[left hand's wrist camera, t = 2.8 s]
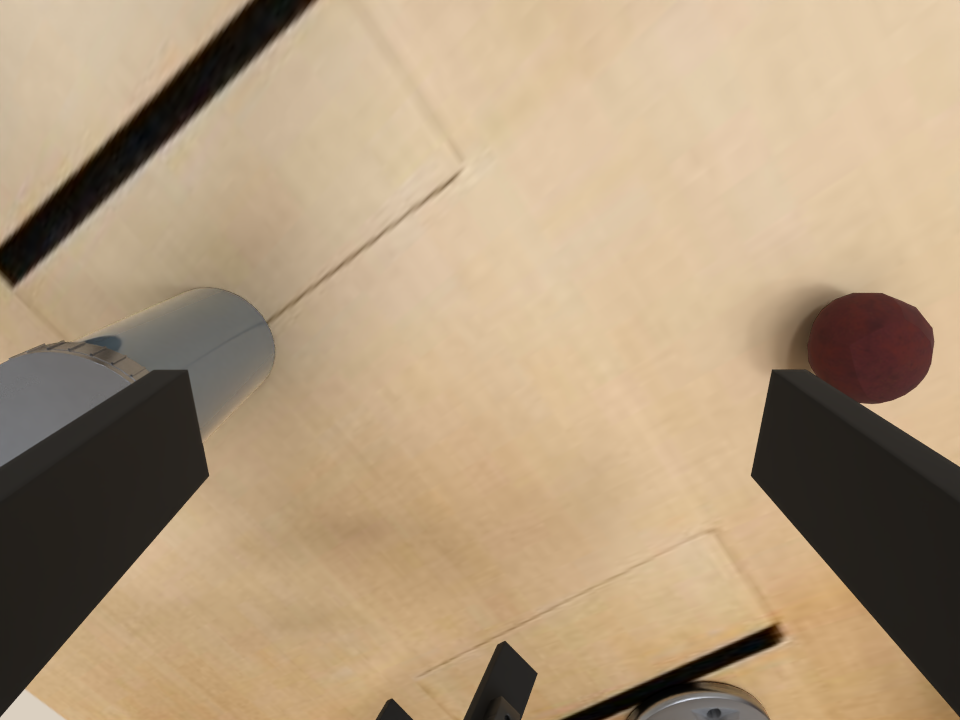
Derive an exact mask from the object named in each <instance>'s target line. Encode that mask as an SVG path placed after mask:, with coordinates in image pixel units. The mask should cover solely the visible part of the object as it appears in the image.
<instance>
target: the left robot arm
mask: <svg viewBox="0 0 960 720" xmlns="http://www.w3.org/2000/svg"><path fill="white" fill-rule="evenodd" d="M208 477H209V473H208V468H207V463H206V458H205V453H204V448H203V443H202V438H201V433H200V428H199V423H198V418H197V413H196V408H195V403H194V398H193V393H192V388H191V383H190V378H189V373H188V370H152V371H151V372H149V373H148V374H146V375H145V376H143V377H141V378H140V379H138V380H137V381H135V382H134V383H132V384H130V385H129V386H127V387H126V388H124V389H122V390H121V391H119V392H118V393H116V394H115V395H113V396H111V397H110V398H108V399H107V400H105V401H104V402H102V403H100V404H99V405H97V406H96V407H94V408H92V409H91V410H89V411H88V412H86V413H85V414H83V415H81V416H80V417H78V418H77V419H75V420H74V421H72V422H70V423H69V424H67V425H66V426H64V427H62V428H61V429H59V430H58V431H56V432H55V433H53V434H51V435H50V436H48V437H47V438H45V439H44V440H42V441H40V442H39V443H37V444H36V445H34V446H32V447H31V448H29V449H28V450H26V451H25V452H23V453H21V454H20V455H18V456H17V457H15V458H14V459H12V460H10V461H9V462H7V463H6V464H4V465H3V466H1V467H0V717H1V716H2V714H3V713H4V712H5V711H6V710H7V709H8V707H9V706H10V705H11V704H12V703H13V702H14V701H15V699H16V698H17V697H18V696H19V695H20V694H21V692H22V691H23V690H24V689H25V688H26V687H27V686H28V684H29V683H30V682H31V681H32V680H33V679H34V677H35V676H36V675H37V674H38V673H39V672H40V671H41V669H42V668H43V667H44V666H45V665H46V664H47V662H48V661H49V660H50V659H51V658H52V657H53V656H54V654H55V653H56V652H57V651H58V650H59V649H60V647H61V646H62V645H63V644H64V643H65V642H66V641H67V639H68V638H69V637H70V636H71V635H72V634H73V632H74V631H75V630H76V629H77V628H78V627H79V626H80V624H81V623H82V622H83V621H84V620H85V619H86V617H87V616H88V615H89V614H90V613H91V612H92V610H93V609H94V608H95V607H96V606H97V605H98V604H99V602H100V601H101V600H102V599H103V598H104V597H105V595H106V594H107V593H108V592H109V591H110V590H111V589H112V587H113V586H114V585H115V584H116V583H117V582H118V580H119V579H120V578H121V577H122V576H123V575H124V574H125V572H126V571H127V570H128V569H129V568H130V567H131V565H132V564H133V563H134V562H135V561H136V560H137V559H138V557H139V556H140V555H141V554H142V553H143V552H144V550H145V549H146V548H147V547H148V546H149V545H150V544H151V542H152V541H153V540H154V539H155V538H156V537H157V535H158V534H159V533H160V532H161V531H162V530H163V528H164V527H165V526H166V525H167V524H168V523H169V522H170V520H171V519H172V518H173V517H174V516H175V515H176V513H177V512H178V511H179V510H180V509H181V508H182V507H183V505H184V504H185V503H186V502H187V501H188V500H189V498H190V497H191V496H192V495H193V494H194V493H195V492H196V490H197V489H198V488H199V487H200V486H201V485H202V483H203V482H204V481H205V480H206V479H207V478H208ZM751 477H752V478H753V479H754V480H755V481H756V482H757V483H758V485H759V486H760V487H761V488H762V489H763V490H764V492H765V493H766V494H767V495H768V496H769V497H770V498H771V500H772V501H773V502H774V503H775V504H776V505H777V507H778V508H779V509H780V510H781V511H782V512H783V513H784V515H785V516H786V517H787V518H788V519H789V520H790V522H791V523H792V524H793V525H794V526H795V527H796V529H797V530H798V531H799V532H800V533H801V534H802V535H803V537H804V538H805V539H806V540H807V541H808V542H809V544H810V545H811V546H812V547H813V548H814V549H815V550H816V552H817V553H818V554H819V555H820V556H821V557H822V559H823V560H824V561H825V562H826V563H827V564H828V565H829V567H830V568H831V569H832V570H833V571H834V572H835V574H836V575H837V576H838V577H839V578H840V579H841V580H842V582H843V583H844V584H845V585H846V586H847V587H848V589H849V590H850V591H851V592H852V593H853V594H854V595H855V597H856V598H857V599H858V600H859V601H860V602H861V604H862V605H863V606H864V607H865V608H866V609H867V611H868V612H869V613H870V614H871V615H872V616H873V617H874V619H875V620H876V621H877V622H878V623H879V624H880V626H881V627H882V628H883V629H884V630H885V631H886V632H887V634H888V635H889V636H890V637H891V638H892V639H893V641H894V642H895V643H896V644H897V645H898V646H899V647H900V649H901V650H902V651H903V652H904V653H905V654H906V656H907V657H908V658H909V659H910V660H911V661H912V662H913V664H914V665H915V666H916V667H917V668H918V669H919V671H920V672H921V673H922V674H923V675H924V676H925V677H926V679H927V680H928V681H929V682H930V683H931V684H932V686H933V687H934V688H935V689H936V690H937V691H938V693H939V694H940V695H941V696H942V697H943V698H944V699H945V701H946V702H947V703H948V704H949V705H950V706H951V708H952V709H953V710H954V711H955V712H956V713H957V714H958V716H959V717H960V467H959V466H957V465H956V464H954V463H953V462H951V461H950V460H948V459H946V458H945V457H943V456H942V455H940V454H939V453H937V452H935V451H934V450H932V449H931V448H929V447H928V446H926V445H924V444H923V443H921V442H920V441H918V440H916V439H915V438H913V437H912V436H910V435H909V434H907V433H905V432H904V431H902V430H901V429H899V428H898V427H896V426H894V425H893V424H891V423H890V422H888V421H886V420H885V419H883V418H882V417H880V416H879V415H877V414H875V413H874V412H872V411H871V410H869V409H868V408H866V407H864V406H863V405H861V404H860V403H858V402H856V401H855V400H853V399H852V398H850V397H849V396H847V395H845V394H844V393H842V392H841V391H839V390H838V389H836V388H834V387H833V386H831V385H830V384H828V383H826V382H825V381H823V380H822V379H820V378H819V377H817V376H815V375H814V374H812V373H811V372H809V371H808V370H772V373H771V378H770V383H769V388H768V393H767V398H766V403H765V408H764V413H763V418H762V423H761V428H760V433H759V438H758V443H757V448H756V453H755V458H754V463H753V468H752V473H751Z"/></svg>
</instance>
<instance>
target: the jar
mask: <svg viewBox="0 0 960 720" xmlns="http://www.w3.org/2000/svg"><path fill="white" fill-rule="evenodd" d="M83 341H84V342H85V343H88V344H93V345H98V346H101V347H104V346H106V348H108V349H111V350H113V351H116V352H118V353H120V354H123V355H127V357H128V358H130V359H132V360H134V361H135V362H137V363H138V364H140V365H141V366H142V367H146V368H145V369H147V370H148V371H149V372H151V371H152V370H188V373H189V378H190V383H191V388H192V393H193V398H194V403H195V408H196V413H197V418H198V423H199V428H200V433H201V438H202V443H204V442H205V441H206V440H207V439H208V438H209V437H210V436H211V435H212V434H213V433H214V432H215V431H216V430H217V429H218V428H219V427H220V426H221V425H222V424H223V423H224V421H225V420H226V419H227V418H228V417H229V416H230V415H231V414H232V413H233V412H234V411H235V410H236V409H237V408H238V407H239V406H240V405H241V404H242V403H243V402H244V401H245V400H246V399H247V398H248V397H249V396H250V395H251V394H252V393H253V392H254V391H255V390H256V389H257V388H258V387H259V386H260V385H261V384H262V383H263V382H264V381H265V379H266V378H267V377H268V375H269V373H270V371H271V369H272V366H273V362H274V356H275V346H274V340H273V336H272V333H271V331H270V328H269V326H268V324H267V323H266V321H265V319H264V318H263V317H262V315H261V314H260V313H259V312H258V311H257V310H256V309H255V308H254V307H253V306H252V305H251V304H250V303H249V302H247V301H246V300H244V299H243V298H241V297H239V296H238V295H235V294H233V293H231V292H228V291H225V290H221V289H217V288H197V289H192V290H189V291H186V292H183V293H181V294H179V295H176V296H174V297H172V298H170V299H167V300H165V301H163V302H160V303H158V304H156V305H154V306H151V307H149V308H147V309H144V310H142V311H140V312H138V313H135V314H133V315H131V316H128V317H126V318H124V319H121V320H119V321H117V322H115V323H112V324H110V325H108V326H105V327H103V328H101V329H99V330H96V331H94V332H92V333H89V334H87V335H85V336H83V337H80V338H78V339H76V340H73V341H71V342H79V343H81V342H83Z"/></svg>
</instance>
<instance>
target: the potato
mask: <svg viewBox="0 0 960 720" xmlns="http://www.w3.org/2000/svg"><path fill="white" fill-rule="evenodd" d="M933 347H934V336H933V329H932V327H931V326H930V324H929V323H928V322H927V321H926V319H925V318H924V317H923V316H922V314H921V313H920V312H919V311H918V309H917V308H916V307H914V306H912V305H909V304H907V303H905V302H903V301H900V300H898V299H895V298H893V297H890V296H888V295H885V294H883V293H852V294H849V295H846V296H843V297H841V298H838V299H835V300H834V301H832V302H831V303H830V304H828V305H827V306H826V307H825V308H824V309H822V310H821V312H820V313H819V315H818V316H817V318H816V319H815V321H814V323H813V326H812V330H811V333H810V337H809V341H808V357H809V363H810V365H811V367H812V369H813V371H814V372H815V374H816V376H817V377H819V378H820V379H822V380H823V381H825V382H826V383H828V384H830V385H831V386H833V387H834V388H836V389H838V390H839V391H841V392H842V393H844V394H845V395H847V396H849V397H850V398H852V399H853V400H855V401H856V402H858V403H867V404H877V403H883V402H887V401H892V400H894V399H897V398H899V397H901V396H903V395H906V394H907V393H908V392H910V391H911V390H913V389H914V388H915V387H917V385H918V384H919V383H920V382H921V381H922V380H923V379H924V377H925V376H926V374H927V373H928V370H929V368H930V365H931V361H932V353H933Z"/></svg>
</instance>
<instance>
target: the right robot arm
mask: <svg viewBox="0 0 960 720" xmlns="http://www.w3.org/2000/svg"><path fill="white" fill-rule="evenodd" d="M537 674H538V673H537V672H536V671H535V670H534V669H533V668H532V667H531V666H530V665H529V664H528V663H527V662H526V661H525V660H524V659H523V658H522V657H521V656H520V655H519V654H518V653H517V652H516V651H515V650H514V649H513V648H512V647H511V646H510V645H509V644H508V643H507V642H506V641H504V642H502V643H500V644H498V645H497V647H496V649H495V651H494V654H493V656H492V658H491V660H490V662H489V665H488V667H487V669H486V671H485V673H484V676H483V678H482V680H481V682H480V684H479V687H478V689H477V691H476V693H475V695H474V698H473V700H472V702H471V704H470V706H469V709H468V711H467V713H466V715H465V717H464V720H521V718H522V715H523V713H524V710H525V707H526V704H527V702H528V699H529V696H530V693H531V690H532V688H533V685H534V682H535V679H536V677H537ZM376 720H413V719H412V718H411V717H410V716H409V715H408V714H407V713H406V712H405V711H404V710H403V709H402V708H401V707H400V706H399V705H398V704H397V703H396V702H395V701H394V700H393V699H390V700H388V701H387V702H386V704H385V705H384V707H383V709H382V710H381V712H380V714H379V715H378V717H377V719H376ZM627 720H770V718H769V716H768V714H767V712H766V711H765V709H764V707H763V706H762V705H761V703H760V702H759V701H758V700H757V699H756V698H754V697H753V696H752V695H750V694H749V693H747V692H745V691H743V690H741V689H739V688H736V687H733V686H730V685H726V684H721V683H710V682H700V683H689V684H684V685H679V686H675V687H672V688H669V689H666V690H664V691H661V692H659V693H657V694H655V695H653V696H652V697H650V698H648V699H647V700H646V701H644V702H643V703H641V704H640V705H639V706H638V707H637V708H636V709H635V710H634V711H633V712H632V713H631V715H630V716H629V717H628V719H627Z"/></svg>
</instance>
